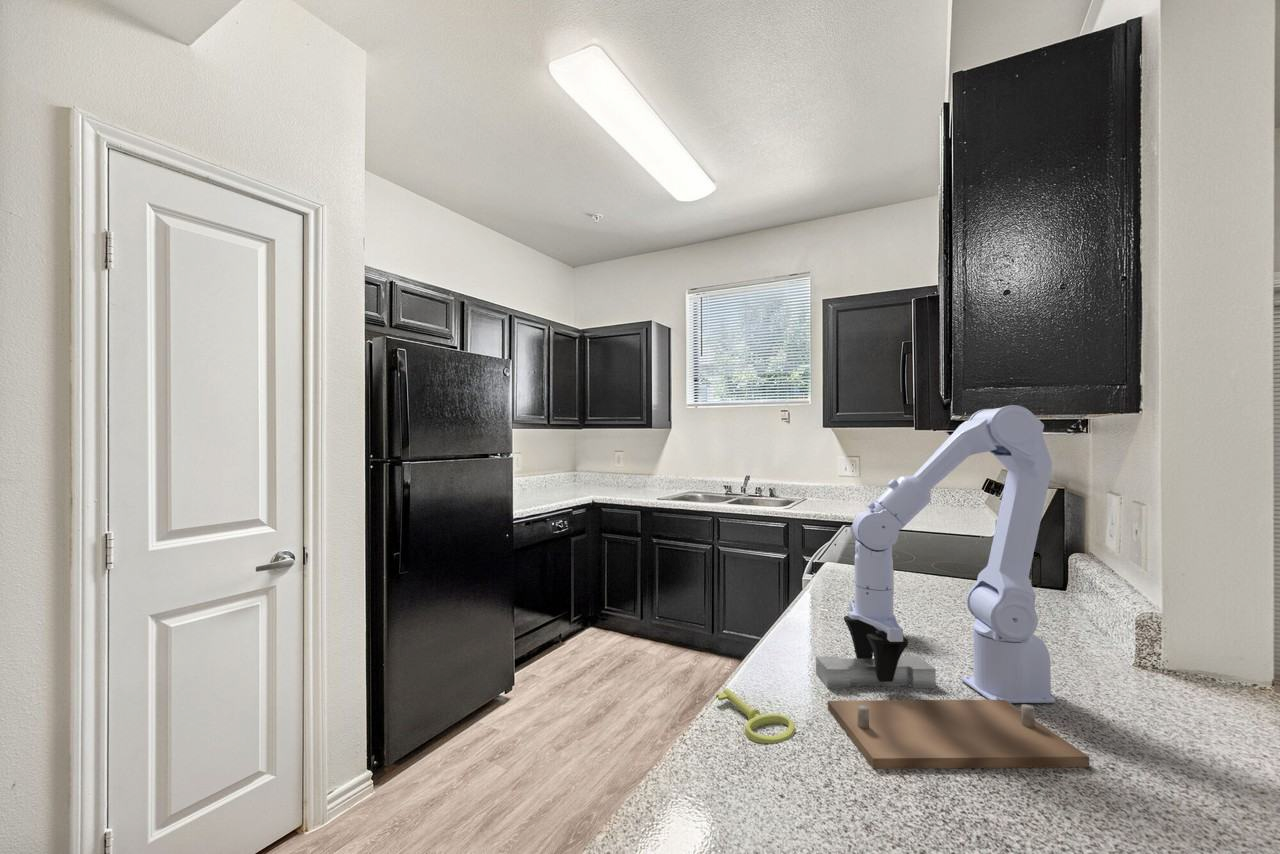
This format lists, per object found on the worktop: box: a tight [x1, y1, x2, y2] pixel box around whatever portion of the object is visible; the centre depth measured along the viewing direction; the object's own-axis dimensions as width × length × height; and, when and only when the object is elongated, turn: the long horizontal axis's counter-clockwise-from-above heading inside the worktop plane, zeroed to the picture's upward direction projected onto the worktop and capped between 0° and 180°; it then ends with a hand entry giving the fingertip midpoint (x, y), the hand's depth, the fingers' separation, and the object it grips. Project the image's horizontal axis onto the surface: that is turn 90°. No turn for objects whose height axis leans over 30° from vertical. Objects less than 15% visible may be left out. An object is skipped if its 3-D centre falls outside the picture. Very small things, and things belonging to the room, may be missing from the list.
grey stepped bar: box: [815, 655, 937, 689], centre depth 86 cm, size 17×5×3 cm, turn 91°
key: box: [714, 687, 796, 744], centre depth 73 cm, size 7×12×2 cm, turn 47°
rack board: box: [827, 699, 1090, 770], centre depth 70 cm, size 26×14×4 cm, turn 91°
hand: (874, 670), depth 86 cm, fingers open, 7 cm apart
